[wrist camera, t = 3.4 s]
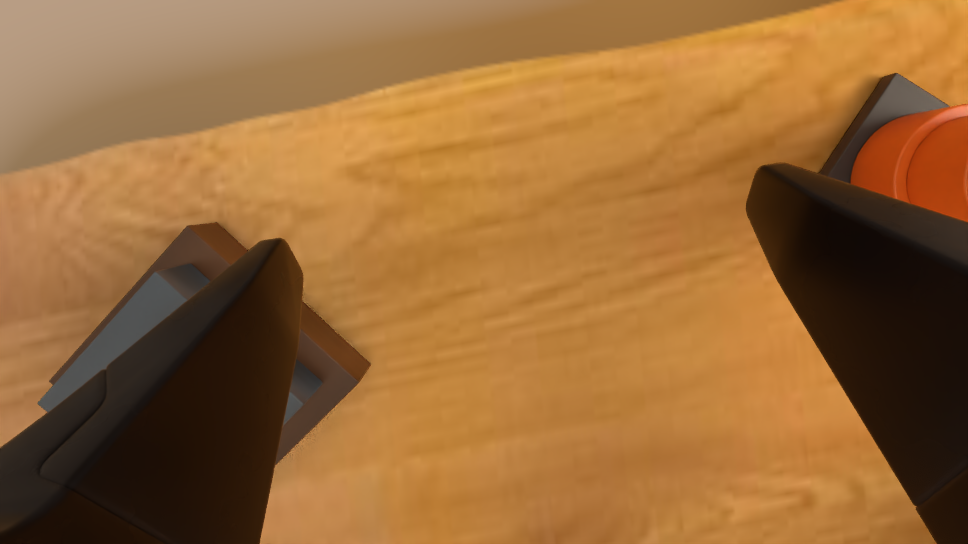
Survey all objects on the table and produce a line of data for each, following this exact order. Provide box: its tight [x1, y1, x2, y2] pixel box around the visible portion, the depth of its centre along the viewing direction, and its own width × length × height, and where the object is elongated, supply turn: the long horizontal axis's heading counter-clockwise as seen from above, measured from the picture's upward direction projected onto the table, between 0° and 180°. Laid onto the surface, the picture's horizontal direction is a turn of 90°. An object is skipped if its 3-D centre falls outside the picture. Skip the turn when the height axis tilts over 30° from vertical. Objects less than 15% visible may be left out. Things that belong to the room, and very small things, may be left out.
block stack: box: [38, 223, 371, 465], centre depth 23 cm, size 11×11×5 cm
